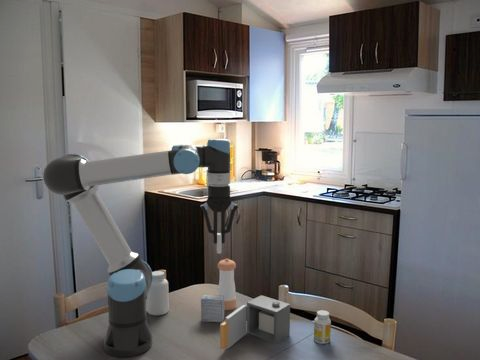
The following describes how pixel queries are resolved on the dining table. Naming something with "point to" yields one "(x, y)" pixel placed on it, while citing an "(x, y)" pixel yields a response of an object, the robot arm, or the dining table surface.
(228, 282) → the pepper shaker
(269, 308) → the grey cabinet
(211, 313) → the medicine box
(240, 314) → the side door
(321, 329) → the supplement bottle
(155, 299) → the pill bottle
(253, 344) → the dining table surface
